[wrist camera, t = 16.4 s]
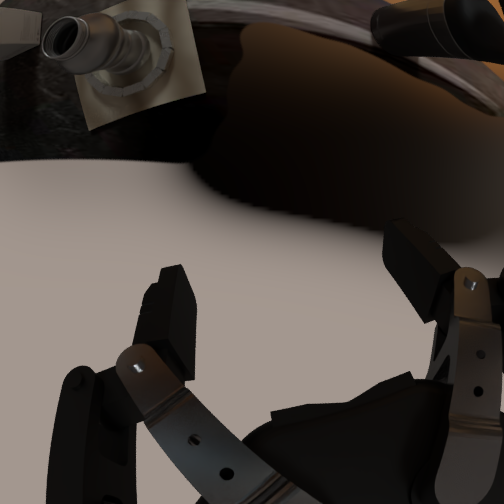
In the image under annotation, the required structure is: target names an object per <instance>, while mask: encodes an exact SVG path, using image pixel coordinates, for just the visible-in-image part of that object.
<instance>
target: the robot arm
mask: <svg viewBox="0 0 504 504" xmlns="http://www.w3.org/2000/svg"><path fill="white" fill-rule="evenodd" d="M499 3H500V6H501V7H502V11H503V14H504V0H499ZM371 29H372V32H373V35H374V37H375V39H376V41H377V42H378V44H379V45H380V46H381V47H382V48H383V49H384V50H386V51H387V52H388V53H390V54H392V55H395V56H415V57H445V58H458V59H469V60H477V61H484V62H491V63H496V64H501V65H504V22H503V20H502V18H501V17H500V15H499V14H498V12H497V11H496V9H495V8H494V7H493V6H492V5H491V4H490V2H489V1H488V0H407V1H403V2H399V3H396V4H392V5H388V6H385V7H382V8H379V9H378V10H376V11H375V13H374V14H373V16H372V19H371ZM382 257H383V262H384V265H385V267H386V269H387V270H388V271H389V273H390V274H391V276H392V277H393V278H394V280H395V281H396V282H397V284H398V285H399V287H400V288H401V289H402V291H403V292H404V294H405V295H406V297H407V298H408V300H409V301H410V303H411V304H412V306H413V307H414V308H415V310H416V312H417V313H418V315H419V316H420V318H421V319H422V321H423V322H424V324H425V323H428V322H430V321H433V320H435V321H436V322H437V325H436V327H435V332H434V340H433V347H432V354H431V360H430V365H429V369H428V373H427V375H426V378H425V379H414V378H413V376H412V374H411V372H410V371H409V372H406V373H404V374H401V375H399V376H396V377H393V378H391V379H388V380H385V381H383V382H380V383H378V384H377V385H375V386H373V387H372V388H370V389H369V390H367V391H365V392H364V393H362V394H361V395H359V396H357V397H356V398H354V399H352V400H350V401H349V402H344V403H325V404H324V403H323V404H305V405H300V406H296V407H291V408H287V409H282V410H277V411H272V412H271V418H272V420H271V421H269V422H267V423H265V424H263V425H262V426H259V427H258V428H256V429H255V430H253V431H252V432H251V433H249V434H248V435H247V436H246V437H245V438H244V439H243V440H242V441H240V440H239V439H238V438H237V437H236V436H235V435H234V434H232V433H231V432H230V431H229V430H228V429H227V428H226V427H225V426H224V425H223V424H222V423H221V422H220V421H219V420H218V419H217V418H216V417H215V416H214V415H213V414H212V413H211V412H210V411H209V410H208V409H207V408H206V407H205V406H204V405H203V404H202V403H201V402H200V401H199V400H198V399H197V398H196V397H195V395H194V394H193V393H192V392H191V391H190V390H189V389H188V388H186V387H185V381H191V380H195V347H196V320H197V304H196V299H195V296H194V293H193V290H192V288H191V286H190V283H189V281H188V279H187V276H186V274H185V271H184V268H183V267H182V265H181V264H179V265H174V266H170V267H165V268H162V269H161V271H160V276H159V279H158V282H157V283H153V284H151V285H150V287H149V288H148V289H147V291H146V292H145V294H144V297H143V301H142V306H141V309H140V315H139V317H138V322H137V326H136V330H135V334H134V339H133V343H132V346H130V347H128V348H127V349H126V350H124V351H123V352H122V353H121V354H120V356H119V357H118V359H117V362H116V366H114V367H111V368H109V369H106V370H104V371H101V372H98V373H95V372H94V371H93V370H92V369H91V368H90V367H88V366H78V367H76V368H74V369H73V370H71V371H70V372H69V373H68V374H67V376H66V377H65V379H64V381H63V385H62V389H61V393H60V397H59V402H58V407H57V412H56V417H55V423H54V429H53V434H52V441H51V447H50V455H49V464H48V474H47V489H46V504H137V492H136V426H137V423H139V422H141V421H144V424H145V425H146V427H147V429H148V430H149V432H150V433H151V434H152V436H153V437H154V438H155V440H156V441H157V443H158V444H159V445H160V447H161V448H162V449H163V450H164V452H165V453H166V454H167V456H168V457H169V458H170V460H171V461H172V462H173V463H174V464H175V466H176V467H177V468H178V469H179V470H180V472H181V473H182V474H183V475H184V476H185V478H186V479H187V480H188V481H189V482H190V483H191V484H192V486H193V487H194V488H195V489H196V490H197V491H198V492H199V493H200V494H201V495H202V496H201V497H200V498H199V499H198V501H197V502H196V504H504V413H503V412H501V411H500V406H501V393H502V372H503V373H504V268H503V269H502V272H501V274H500V277H499V278H488V279H487V278H486V277H485V276H484V275H483V274H482V273H481V272H480V271H478V270H476V269H474V268H470V267H462V268H461V267H460V266H459V265H458V263H457V262H456V261H455V260H454V259H453V258H452V257H451V256H450V255H449V254H448V253H447V252H446V251H445V250H444V249H443V248H441V247H440V245H439V244H438V243H437V242H435V241H434V239H433V238H432V237H431V236H430V235H429V234H428V233H427V232H425V231H423V230H421V229H419V228H417V227H414V226H413V225H412V224H411V223H410V222H409V221H407V220H406V219H405V218H398V219H393V220H389V221H386V223H385V227H384V239H383V251H382Z"/></svg>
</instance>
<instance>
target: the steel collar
mask: <svg viewBox="0 0 504 504" xmlns="http://www.w3.org/2000/svg"><path fill="white" fill-rule="evenodd" d="M112 18H114V19H115V20H116V21H117V23H118V24H119V25H120V26H122V25H125V24H127V23H130V22H141V23H149V24H151V25H152V26H153V27H155V28H156V29H157V30H158V31H159V35H160V39H161V44H162V51H161V54H160V57H159V59H158V62H157V65H156V67H155V68H154V69H153V70H152V71H151V72H150V73H149V74H148V75H147V76H146V77H145V78H144V79H143V80H142V81H141V82H138V83H136V84H133V85H130V86H127V87H119V86H113V85H110V84H109V83H108V82H107V81H106V80H105V79H104V78H103V77H102V76H101V75H100V74H99V71H95V72H92V73H89V74H85V78H86V79H88V80H87V82H88V83H90V84H91V85H92V86H93V87H94V88H95V89H96V90H97V91H98V92H99V93H102V94H105V95H112V96H118V97H125V96H130V95H132V94H135V93H138V92H141V91H144V90H147V89H149V88H151V87H152V86H153V85H154V84H155V83H156V82H157V81H158V80H159V79H160V78H161V77H162V76H163V75H164V74H165V73H166V72H165V71H164V70H167V71H168V68H169V65H170V62H171V59H172V56H173V54H174V50H173V49H174V44H173V39H172V35H171V31H170V29H169V28H168V27H167V26H166V25H165V24H164V23H163V22H162V21H161V20H159V19H158V18H157V17H156V16H155V15H153V14H151V13H150V12H141V11H130V10H129V12H128V11H125V12H123V13H120V14H118V15H115V16H113V17H112Z"/></svg>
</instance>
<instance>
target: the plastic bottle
mask: <svg viewBox="0 0 504 504" xmlns="http://www.w3.org/2000/svg"><path fill="white" fill-rule="evenodd" d="M42 51H43V53H44V55H45V56H46V57H48V58H51V59H55V60H57V62H58V64H59V66H60V67H61V68H62V69H63V70H65V71H66V72H68V73H70V74H73V75H83V74H89V73H92V72H95V71H99V70H106V71H107V72H109V73H112V74H114V75H127V74H130V73H132V72H135V71H137V70H138V69H140V68H141V67H142V66H143V65H144V64H145V63H146V61H147V60H148V58H149V55H150V51H151V46H150V42H149V40H148V38H147V37H146V36H145V35H144V34H143V33H141V32H139V31H136V30H125V29H123V28H122V27H121V26H120V25H119V24H118V23H117V21H116V20H115V19H114V18H112V17H111V16H109V15H107V14H104V13H90V14H86V15H83V16H80V17H79V18H75V17H71V16H68V17H62V18H60V19H58V20H57V21H55V22H54V23H53V24H52V25H51V26H50V27H49V28H48V29H47V31H46V32H45V34H44V37H43V40H42Z"/></svg>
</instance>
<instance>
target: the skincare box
mask: <svg viewBox="0 0 504 504" xmlns="http://www.w3.org/2000/svg"><path fill="white" fill-rule="evenodd" d="M41 19H42V13H38V12H33V11H27V10H20V9H12V8H3V7H0V61H1V60H8V59H10V58H12V57H14V56H16V55H18V54H20V53H22V52H25V51H27V50H29V49H31V48H33V47H35V46H38V45H39V44H40V31H41Z"/></svg>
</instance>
